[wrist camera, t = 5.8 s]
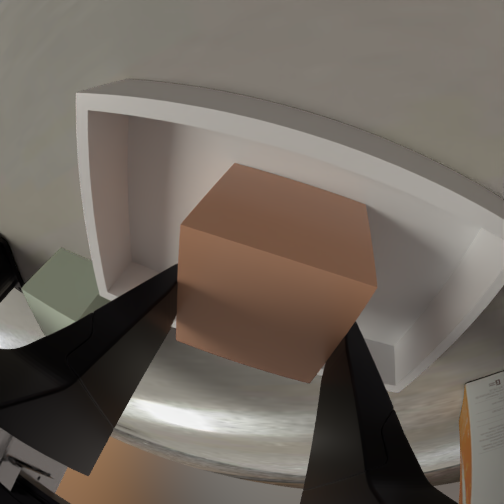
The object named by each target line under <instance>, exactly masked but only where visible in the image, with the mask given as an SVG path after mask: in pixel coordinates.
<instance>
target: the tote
mask: <svg viewBox="0 0 504 504" xmlns="http://www.w3.org/2000/svg"><path fill="white" fill-rule="evenodd" d="M76 135H77V154H78V167H79V178H80V188H81V197H82V205H83V212H84V219H85V225H86V231H87V237H88V243H89V248H90V253H91V258H92V263H93V268H94V273H95V277H96V282H97V286H98V290H99V294H100V296H102V297H104V298H106V299H108V300H110V301H112V300H114V299H115V298H117V297H119V296H121V295H122V294H124V293H126V292H127V291H129V290H131V289H133V288H134V287H136V286H138V285H140V284H141V283H143V282H145V281H147V280H148V279H150V278H152V277H154V276H155V275H157V274H159V273H161V272H162V271H164V270H166V269H168V268H169V267H171V266H173V265H175V264H177V263H178V255H179V238H180V224H181V223H182V222H183V221H184V220H185V218H186V217H187V216H188V215H189V214H190V213H191V211H192V210H193V209H194V208H195V207H196V206H197V204H198V203H199V202H200V201H201V200H202V199H203V198H204V196H205V195H206V194H207V193H208V192H209V191H210V190H211V188H212V187H213V186H214V185H215V184H216V183H217V182H218V181H219V179H220V178H221V177H222V176H223V175H224V174H225V173H226V172H227V171H228V170H229V168H230V167H231V166H232V165H233V164H234V163H237V164H240V165H244V166H248V167H251V168H255V169H258V170H262V171H265V172H269V173H272V174H275V175H279V176H282V177H285V178H289V179H292V180H295V181H298V182H301V183H304V184H308V185H311V186H314V187H317V188H320V189H323V190H326V191H329V192H332V193H335V194H338V195H341V196H343V197H346V198H349V199H352V200H355V201H357V202H360V203H363V204H366V209H367V214H368V220H369V226H370V233H371V239H372V246H373V254H374V261H375V269H376V278H377V289H376V291H375V292H374V294H373V295H372V297H371V299H370V300H369V302H368V303H367V305H366V306H365V308H364V309H363V311H362V312H361V314H360V315H359V317H358V318H357V320H356V322H357V324H358V326H359V329H360V331H361V333H362V335H363V337H364V339H365V342H366V344H367V346H368V348H369V351H370V353H371V355H372V357H373V360H374V362H375V364H376V367H377V369H378V371H379V374H380V376H381V378H382V381H383V383H384V385H385V388H386V390H387V391H391V392H396V393H399V392H400V391H401V390H403V389H404V388H405V387H406V386H408V385H409V384H410V383H411V382H412V381H413V380H415V379H416V378H417V377H418V376H419V375H420V374H421V373H423V372H424V371H425V370H426V369H427V368H428V367H429V366H430V365H431V364H432V363H434V362H435V361H436V360H437V359H438V358H439V357H440V356H441V355H442V354H443V353H444V352H445V351H446V350H447V349H448V348H449V347H450V346H451V345H452V344H453V343H454V342H455V341H456V340H457V339H458V338H459V337H460V336H461V335H462V334H463V333H464V332H465V331H466V329H467V328H468V327H469V326H470V325H471V324H472V323H473V322H474V321H475V320H476V318H477V317H478V316H479V315H480V314H481V313H482V311H483V310H484V309H485V308H486V307H487V306H488V304H489V303H490V302H491V301H492V299H493V298H494V297H495V296H496V295H497V293H498V292H499V291H500V289H501V288H502V287H503V286H504V200H503V199H502V198H501V197H499V196H498V195H496V194H494V193H493V192H491V191H489V190H488V189H486V188H484V187H483V186H481V185H479V184H477V183H476V182H474V181H472V180H470V179H469V178H467V177H465V176H463V175H461V174H459V173H458V172H456V171H454V170H452V169H450V168H448V167H446V166H444V165H442V164H440V163H438V162H436V161H434V160H432V159H430V158H428V157H426V156H423V155H421V154H419V153H417V152H415V151H413V150H410V149H408V148H406V147H403V146H401V145H399V144H396V143H394V142H392V141H389V140H387V139H384V138H382V137H379V136H377V135H374V134H372V133H369V132H367V131H364V130H361V129H358V128H356V127H353V126H350V125H347V124H344V123H342V122H339V121H336V120H333V119H330V118H326V117H323V116H320V115H317V114H314V113H310V112H307V111H304V110H300V109H297V108H293V107H289V106H286V105H282V104H278V103H274V102H270V101H266V100H262V99H258V98H253V97H249V96H244V95H240V94H235V93H230V92H225V91H219V90H214V89H208V88H202V87H196V86H189V85H182V84H175V83H167V82H158V81H148V80H136V79H124V80H120V81H115V82H112V83H108V84H104V85H100V86H97V87H93V88H90V89H86V90H83V91H80V92H76ZM171 327H173V328H176V317H175V319H174V322H173V324H172V326H171ZM324 366H325V364H324ZM324 366H323V367H322V368H321V369H320V371H319V372H318V373H317V375H321V376H322V375H323V371H324Z"/></svg>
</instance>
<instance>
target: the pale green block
mask: <svg viewBox="0 0 504 504" xmlns="http://www.w3.org/2000/svg"><path fill="white" fill-rule="evenodd" d="M21 289H22V292H23V294H24V296H25V298H26V300H27V302H28V304H29V306H30V308H31V310H32V312H33V314H34V316H35V318H36V320H37V322H38V324H39V326H40V328H41V330H42V331H43V333H44V335H46V336H48V335H50V334H52V333H54V332H56V331H58V330H60V329H62V328H64V327H66V326H68V325H70V324H72V323H74V322H76V321H78V320H79V319H81V318H83V317H85V316H86V315H88V314H90V313H91V312H93V313H94V311H95V310H97V309H98V308H100V307H102V306H103V305H105V304H107V303H109V302H110V300H108V299H106V298H104V297H102V296H100V294H99V290H98V286H97V282H96V277H95V273H94V268H93V263H92V261H91V260H88V259H86V258H84V257H82V256H79V255H77V254H75V253H73V252H70V251H68V250H66V249H64V248H62V247H61V248H60V249H59V250H58V251H57V252H56V253H55V254H54V255H53V256H52V257H51V258H50V259H49V260H48V261H47V262H46V263H45V264H44V265H43V266H42V267H41V268H40V269H39V270H38V271H37V272H36V273H35V274H34V275H33V276H32V277H31V278H30V279H29V280H28V282H27V283H26V284H25V285H24V286H23V287H22V288H21Z"/></svg>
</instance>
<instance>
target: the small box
mask: <svg viewBox="0 0 504 504" xmlns="http://www.w3.org/2000/svg"><path fill="white" fill-rule="evenodd" d="M459 431H460V459H461V471H460V495H459V504H504V371H503V372H500V373H497V374H494V375H491V376H488V377H485V378H482V379H479V380H476V381H473V382H470V383H467V384H465V389H464V399H463V405H462V410H461V415H460V419H459Z"/></svg>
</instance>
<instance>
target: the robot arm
mask: <svg viewBox="0 0 504 504" xmlns="http://www.w3.org/2000/svg"><path fill="white" fill-rule="evenodd" d="M177 276H178V263H177V264H175V265H173V266H171V267H169V268H168V269H166V270H164V271H162V272H161V273H159V274H157V275H155V276H154V277H152V278H150V279H148V280H147V281H145V282H143V283H141V284H140V285H138V286H136V287H134V288H133V289H131V290H129V291H127V292H126V293H124V294H122V295H121V296H119V297H117V298H115V299H114V300H112V301H110V302H109V303H107V304H105V305H103V306H102V307H100V308H98V309H97V310H95V311H94V313H93V312H91V313H90V314H88V315H86V316H85V317H83V318H81V319H79V320H78V321H76V322H74V323H72V324H70V325H68V326H66V327H64V328H62V329H60V330H58V331H56V332H54V333H52V334H50V335H48V336H46V337H43V338H41V339H39V340H37V341H35V342H33V343H31V344H28V345H26V346H23V347H20V348H16V349H0V504H70V503H68V502H67V501H66V500H64V499H63V498H61V497H59V496H58V495H56V494H55V492H56V490H57V488H58V486H59V484H60V482H61V480H62V477H63V476H64V473H65V471H66V469H67V467H69V468H71V469H73V470H76V471H78V472H80V473H82V474H85V475H87V476H89V475H90V473H91V471H92V469H93V467H94V465H95V463H96V461H97V459H98V457H99V456H100V454H101V452H102V450H103V448H104V446H105V444H106V443H107V441H108V438H109V437H110V435H111V433H112V431H113V430H114V429H113V428H115V426H116V424H117V422H118V420H119V418H120V417H121V415H122V413H123V411H124V409H125V408H126V406H127V404H128V402H129V400H130V399H131V397H132V395H133V393H134V391H135V390H136V388H137V386H138V384H139V382H140V381H141V379H142V377H143V375H144V374H145V372H146V370H147V368H148V367H149V365H150V363H151V361H152V360H153V358H154V356H155V355H156V353H157V351H158V349H159V348H160V346H161V344H162V342H163V341H164V339H165V337H166V336H167V334H168V332H169V330H170V328H171V326H172V324H173V322H174V319H175V317H176V315H177V287H178V282H177ZM23 286H24V285H23V282H22V280H21V278H20V275H19V273H18V270H17V268H16V265H15V263H14V260H13V257H12V255H11V252H10V249H9V246H8V244H7V242H6V241H5V240H4V239H2V238H0V302H1V301H2V300H3V299H4V298H5V297H6V296H7V294H8V293H9V292H10V291H11V290H12V289H13V288H16V289H17V290H19V291H20V292H22V289H21V288H22V287H23ZM22 293H23V292H22ZM393 408H394V407H393V405H392V402H391V400H390V398H389V395H388V393H387V390H386V388H385V385H384V383H383V381H382V378H381V376H380V374H379V371H378V369H377V367H376V364H375V362H374V360H373V357H372V355H371V353H370V351H369V348H368V346H367V344H366V342H365V339H364V337H363V335H362V333H361V331H360V329H359V326H358V324H357V322H356V321H355V323H354V324H353V326H352V327H351V328H350V330H349V331H348V333H347V334H346V336H344V338H343V339H342V340H341V342H340V343H339V345H338V346H337V347H336V349H335V350H334V351H333V353H332V354H331V356H330V357H329V358H328V360H327V361H326V362H325V366H324V371H323V375H322V380H321V387H320V395H319V402H318V409H317V416H316V423H315V429H314V435H313V441H312V447H311V453H310V458H309V463H308V469H307V474H306V479H305V484H304V488H303V490H304V491H303V493H302V497H301V502H300V504H458V503H457V502H455V501H454V500H452V499H451V498H449V497H448V496H446V495H445V494H443V493H442V492H440V491H439V490H437V489H436V488H435V487H434V486H433V485H431V483H430V482H429V481H428V480H427V478H426V477H425V475H424V473H423V471H422V469H421V467H420V465H419V463H418V461H417V459H416V457H415V455H414V453H413V451H412V449H411V447H410V445H409V442H408V440H407V438H406V436H405V434H404V432H403V429H402V427H401V425H400V422H399V420H398V417H397V415H396V412H395V410H393Z"/></svg>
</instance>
